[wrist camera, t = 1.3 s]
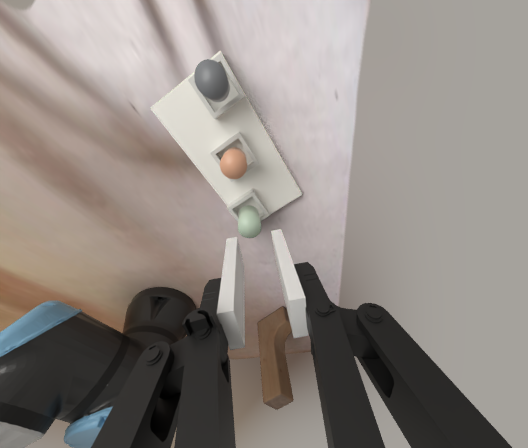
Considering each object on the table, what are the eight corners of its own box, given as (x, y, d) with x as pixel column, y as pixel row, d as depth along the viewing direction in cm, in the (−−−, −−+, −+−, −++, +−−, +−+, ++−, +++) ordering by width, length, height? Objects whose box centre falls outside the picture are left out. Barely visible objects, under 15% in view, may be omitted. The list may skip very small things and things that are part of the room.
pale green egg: (246, 227, 37) (246, 241, 33) (234, 212, 36) (233, 225, 31) (262, 217, 36) (265, 230, 32) (251, 201, 35) (252, 213, 30)
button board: (245, 226, 42) (246, 234, 39) (153, 108, 31) (144, 107, 28) (300, 192, 40) (305, 198, 37) (221, 53, 29) (218, 45, 26)
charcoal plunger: (213, 107, 28) (208, 105, 24) (196, 81, 27) (187, 73, 22) (235, 91, 28) (233, 85, 23) (218, 63, 26) (213, 51, 22)
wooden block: (282, 305, 53) (299, 384, 37) (292, 313, 55) (313, 392, 39) (256, 322, 55) (262, 404, 39) (267, 329, 57) (277, 410, 41)
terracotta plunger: (232, 175, 33) (230, 184, 28) (218, 156, 31) (214, 161, 27) (250, 163, 32) (252, 169, 28) (237, 142, 31) (236, 146, 26)
